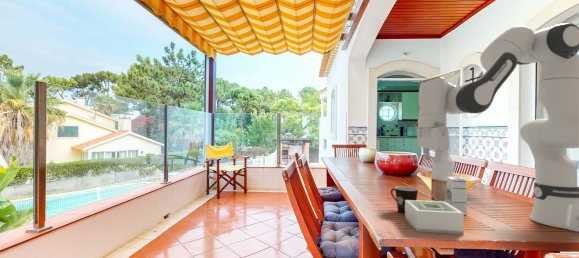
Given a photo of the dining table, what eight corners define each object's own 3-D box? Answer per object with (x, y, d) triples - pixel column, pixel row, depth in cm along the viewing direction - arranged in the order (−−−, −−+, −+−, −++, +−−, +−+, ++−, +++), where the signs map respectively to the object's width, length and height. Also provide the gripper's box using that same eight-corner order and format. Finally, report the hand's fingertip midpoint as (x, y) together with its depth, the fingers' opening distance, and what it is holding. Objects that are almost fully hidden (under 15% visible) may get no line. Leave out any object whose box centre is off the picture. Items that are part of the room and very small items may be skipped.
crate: (444, 220, 102) (444, 201, 102) (463, 234, 88) (463, 213, 88) (404, 218, 104) (405, 199, 104) (417, 231, 90) (417, 210, 90)
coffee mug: (421, 216, 106) (421, 190, 107) (400, 215, 106) (400, 190, 107) (408, 207, 118) (408, 184, 118) (389, 207, 118) (389, 184, 118)
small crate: (437, 220, 98) (437, 203, 98) (445, 226, 92) (445, 208, 92) (419, 219, 99) (419, 203, 99) (425, 225, 93) (425, 208, 93)
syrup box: (467, 215, 108) (467, 179, 108) (451, 214, 109) (451, 178, 109) (461, 211, 113) (461, 176, 113) (446, 210, 115) (446, 176, 115)
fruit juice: (442, 208, 117) (442, 144, 117) (426, 203, 126) (426, 143, 126) (460, 207, 119) (460, 144, 119) (443, 202, 128) (443, 143, 128)
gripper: (455, 121, 85) (455, 165, 85) (431, 123, 105) (430, 158, 105) (433, 121, 86) (433, 164, 86) (414, 123, 106) (413, 158, 106)
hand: (432, 161), depth 96 cm, fingers open, 8 cm apart
